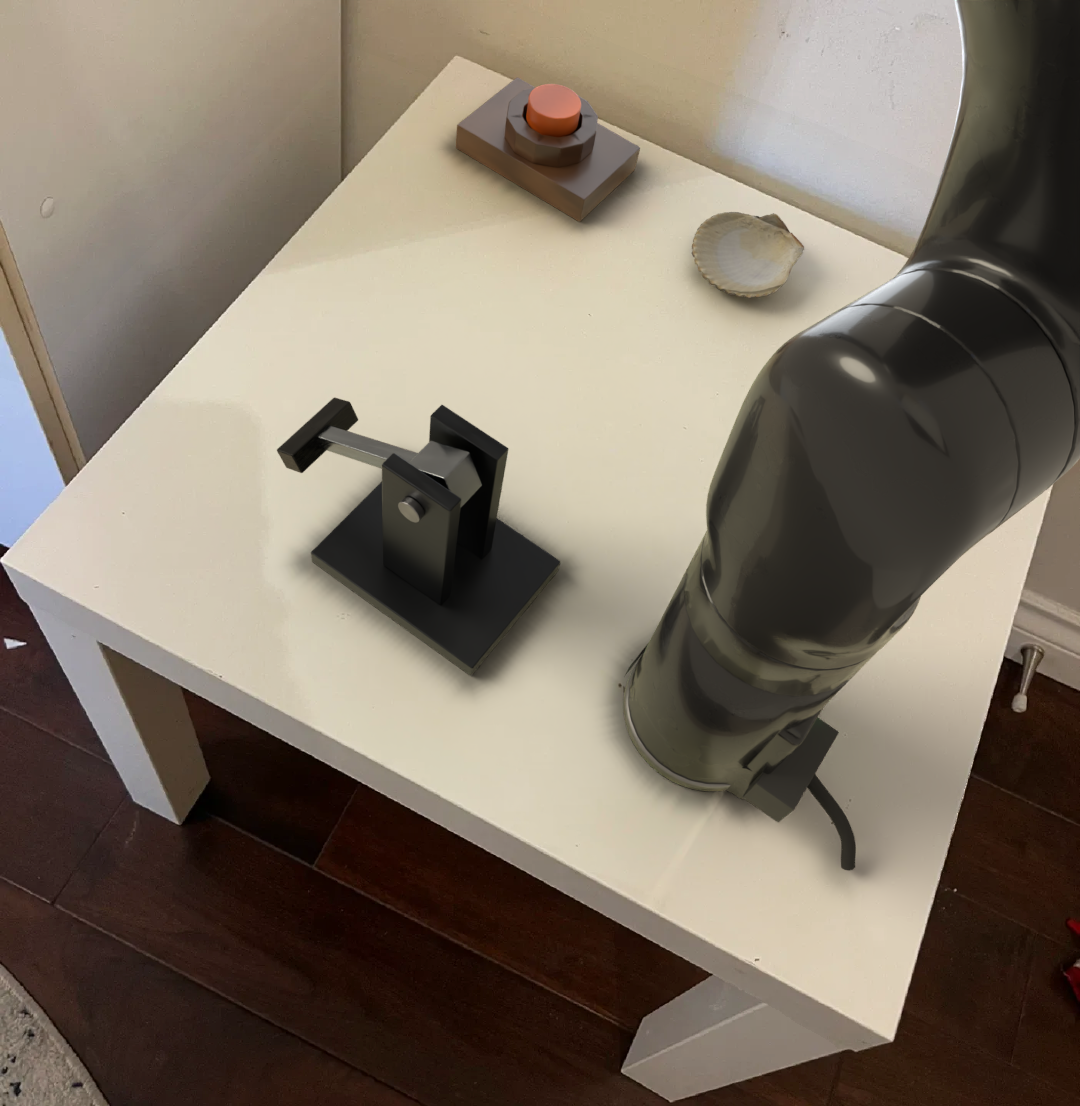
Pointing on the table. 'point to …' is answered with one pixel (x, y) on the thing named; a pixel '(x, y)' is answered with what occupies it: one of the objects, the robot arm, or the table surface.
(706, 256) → the seashell
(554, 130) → the button
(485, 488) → the switch bracket
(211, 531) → the table surface
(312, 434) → the switch lever
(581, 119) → the button base
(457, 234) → the table surface
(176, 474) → the table surface
